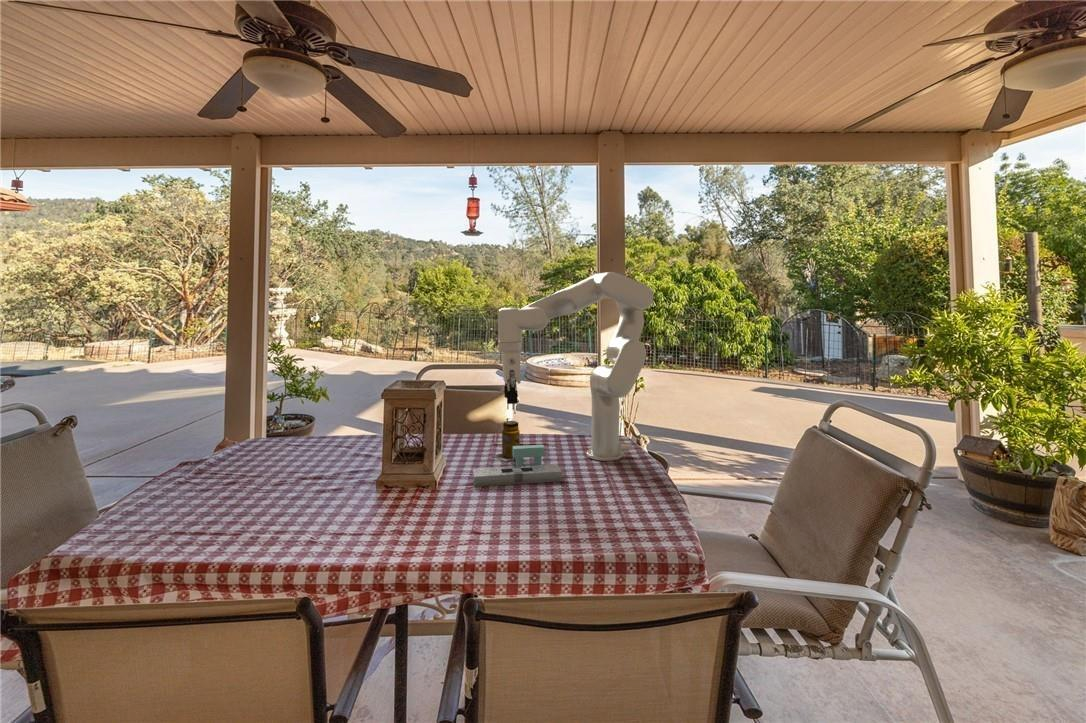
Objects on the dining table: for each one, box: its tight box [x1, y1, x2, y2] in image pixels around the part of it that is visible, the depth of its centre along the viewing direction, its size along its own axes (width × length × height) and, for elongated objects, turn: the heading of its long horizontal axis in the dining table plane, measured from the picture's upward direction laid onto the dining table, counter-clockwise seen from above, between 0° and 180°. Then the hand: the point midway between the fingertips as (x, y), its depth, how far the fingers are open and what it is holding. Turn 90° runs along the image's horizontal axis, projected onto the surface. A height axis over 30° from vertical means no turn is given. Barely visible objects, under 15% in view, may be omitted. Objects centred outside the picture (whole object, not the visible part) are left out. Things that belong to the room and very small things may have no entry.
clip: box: [513, 444, 546, 466], centre depth 159 cm, size 10×3×7 cm, turn 100°
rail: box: [472, 463, 563, 488], centre depth 149 cm, size 26×7×3 cm, turn 100°
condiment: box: [493, 420, 521, 462], centre depth 171 cm, size 7×8×12 cm
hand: (510, 400), depth 158 cm, fingers open, 9 cm apart
